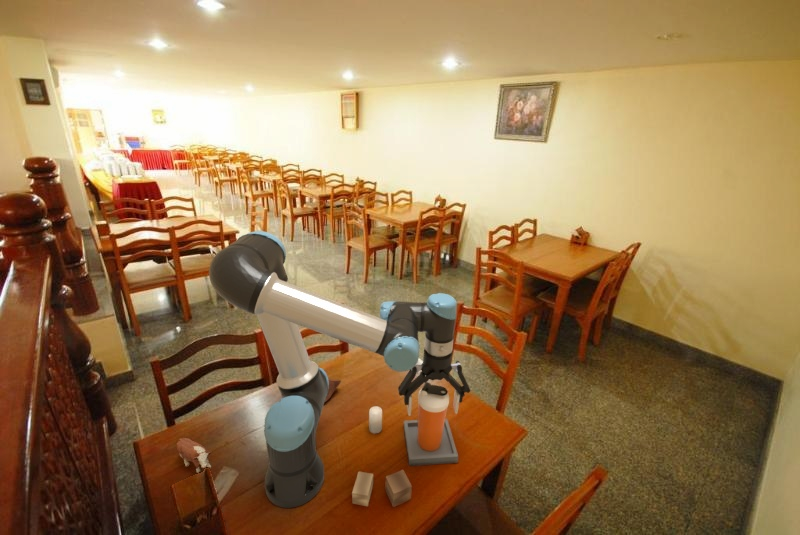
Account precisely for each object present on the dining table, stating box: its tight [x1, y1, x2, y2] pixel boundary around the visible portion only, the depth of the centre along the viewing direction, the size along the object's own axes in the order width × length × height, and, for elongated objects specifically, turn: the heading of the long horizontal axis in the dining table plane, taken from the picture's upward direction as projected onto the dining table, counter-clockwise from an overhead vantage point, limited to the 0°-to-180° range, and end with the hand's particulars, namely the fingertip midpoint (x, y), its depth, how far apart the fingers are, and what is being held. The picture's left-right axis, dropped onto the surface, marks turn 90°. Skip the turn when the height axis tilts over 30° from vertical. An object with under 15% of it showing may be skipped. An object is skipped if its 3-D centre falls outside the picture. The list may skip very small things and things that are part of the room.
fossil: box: [325, 377, 342, 402], centre depth 121 cm, size 13×8×10 cm
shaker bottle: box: [417, 381, 450, 451], centre depth 102 cm, size 9×9×20 cm
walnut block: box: [384, 469, 413, 508], centre depth 90 cm, size 5×5×5 cm
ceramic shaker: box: [368, 405, 383, 434], centre depth 110 cm, size 4×4×7 cm
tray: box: [403, 418, 459, 467], centre depth 106 cm, size 14×14×2 cm
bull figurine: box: [176, 437, 213, 474], centre depth 95 cm, size 4×13×8 cm, turn 58°
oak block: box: [351, 471, 374, 507], centre depth 91 cm, size 4×6×4 cm, turn 171°
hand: (432, 411), depth 102 cm, fingers open, 13 cm apart
